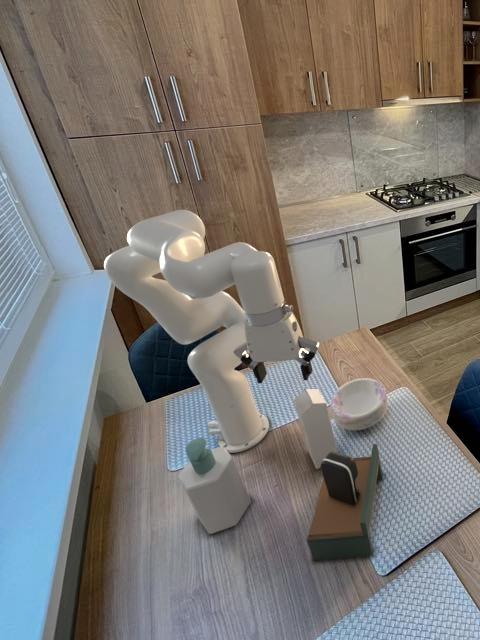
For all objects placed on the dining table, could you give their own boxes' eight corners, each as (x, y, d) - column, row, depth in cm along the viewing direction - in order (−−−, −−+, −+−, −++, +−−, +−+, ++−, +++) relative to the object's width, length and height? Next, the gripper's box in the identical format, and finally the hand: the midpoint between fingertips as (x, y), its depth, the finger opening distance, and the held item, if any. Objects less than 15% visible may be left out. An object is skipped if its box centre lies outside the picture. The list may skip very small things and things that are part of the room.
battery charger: (364, 490, 88) (357, 455, 84) (355, 507, 85) (346, 470, 80) (338, 481, 91) (329, 445, 86) (327, 496, 87) (317, 461, 83)
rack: (313, 560, 83) (302, 527, 78) (333, 479, 99) (325, 447, 94) (372, 555, 83) (365, 522, 78) (382, 475, 99) (377, 443, 95)
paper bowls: (400, 413, 117) (397, 393, 113) (355, 448, 106) (351, 427, 103) (368, 389, 126) (364, 369, 122) (324, 419, 116) (319, 398, 112)
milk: (316, 470, 101) (297, 405, 92) (308, 453, 106) (289, 390, 96) (340, 456, 104) (323, 393, 95) (331, 441, 109) (315, 378, 99)
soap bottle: (196, 540, 87) (160, 472, 77) (204, 501, 95) (171, 435, 85) (249, 521, 90) (220, 453, 81) (252, 485, 98) (226, 420, 88)
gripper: (315, 299, 84) (329, 363, 92) (230, 304, 84) (252, 368, 91) (304, 320, 78) (320, 387, 85) (212, 325, 77) (237, 392, 84)
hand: (285, 377), depth 88 cm, fingers open, 9 cm apart
